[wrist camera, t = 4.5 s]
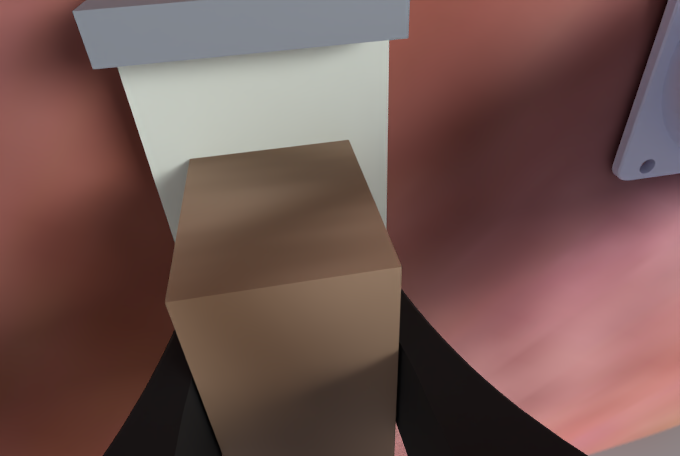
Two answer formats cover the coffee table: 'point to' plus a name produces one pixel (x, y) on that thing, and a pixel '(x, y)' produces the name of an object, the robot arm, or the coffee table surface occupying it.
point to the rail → (249, 78)
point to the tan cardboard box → (288, 302)
